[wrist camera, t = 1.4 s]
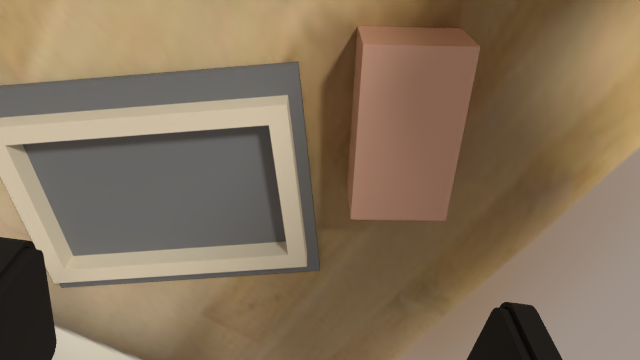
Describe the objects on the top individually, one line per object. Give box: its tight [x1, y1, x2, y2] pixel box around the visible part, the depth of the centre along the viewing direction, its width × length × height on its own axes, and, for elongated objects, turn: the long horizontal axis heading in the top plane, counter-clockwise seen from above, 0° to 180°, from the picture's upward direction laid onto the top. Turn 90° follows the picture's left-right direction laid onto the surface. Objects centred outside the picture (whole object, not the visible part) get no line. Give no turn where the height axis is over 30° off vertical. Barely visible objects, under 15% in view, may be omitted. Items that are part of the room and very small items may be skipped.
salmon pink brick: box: [347, 26, 481, 221], centre depth 29 cm, size 6×11×4 cm, turn 179°
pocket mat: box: [0, 62, 320, 288], centre depth 32 cm, size 20×16×2 cm
